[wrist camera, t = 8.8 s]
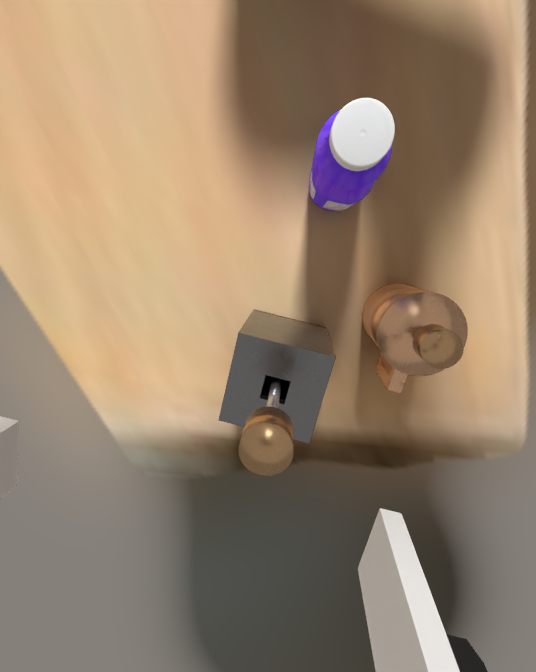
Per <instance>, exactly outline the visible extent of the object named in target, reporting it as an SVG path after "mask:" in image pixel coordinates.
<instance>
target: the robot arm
mask: <svg viewBox="0 0 536 672" xmlns="http://www.w3.org/2000/svg"><path fill="white" fill-rule="evenodd" d="M18 433H19V421H17V420H12V419H8V418H4V417H0V499H2V498H3V497H4V496H5V495H6V494H7V493H8V492H10V491H11V490H12V489H13V488H14V487H15V486H17V475H18V473H17V472H18ZM358 573H359V579H360V584H361V590H362V596H363V601H364V607H365V613H366V618H367V624H368V630H369V635H370V640H371V647H372V653H373V658H374V664H375V670H376V672H487V669H486V667H485V665H484V663H483V662H482V660H481V659H480V657H479V656H478V655H477V653H476V652H475V650H474V649H473V648H472V646H471V645H470V643H469V642H468V641H467V639H463V638H459V637H455V636H451V635H447V634H446V633H445V630H444V627H443V625H442V622H441V619H440V617H439V614H438V611H437V608H436V606H435V603H434V600H433V598H432V595H431V592H430V589H429V587H428V584H427V581H426V579H425V576H424V573H423V570H422V568H421V565H420V562H419V560H418V557H417V554H416V552H415V549H414V546H413V543H412V541H411V538H410V535H409V533H408V530H407V527H406V524H405V522H404V519H403V516H402V514H401V513H398V512H393V511H389V510H386V509H381V508H380V509H379V512H378V514H377V518H376V520H375V523H374V525H373V528H372V531H371V533H370V536H369V539H368V542H367V545H366V547H365V550H364V553H363V555H362V558H361V561H360V564H359V567H358Z"/></svg>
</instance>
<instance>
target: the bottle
mask: <svg viewBox="0 0 536 672" xmlns="http://www.w3.org/2000/svg"><path fill="white" fill-rule="evenodd" d="M394 134H395V125H394V120H393V117H392V114H391V112H390V111H389V109H388V108H387V107H386V106H385V105H384V104H383V103H381V102H380V101H378V100H376V99H373V98H360V99H356V100H353V101H351V102H349V103H348V104H347V105H345V106H344V107H343V108H342V109H341V110H339V111H337V112H336V113H334V114H333V115H332V116H331V117H330V118H329V119H328V120H327V122H326V123H325V124H324V126H323V127H322V129H321V131H320V134H319V136H318V139H317V143H316V150H315V154H314V159H313V165H312V169H311V174H310V181H309V192H310V196H311V198H312V200H313V201H314V203H315V204H317V205H318V206H320V207H322V208H324V209H327V210H331V211H342V210H345V209H347V208H349V207H350V206H352V205H354V204H355V203H357V202H358V201H360V200H361V199H363V198H364V197H365V196H366V195H367V194H368V193H369V192H370V190H371V188H372V187H373V185H374V183H375V181H376V180H377V178H378V177H379V176H380V175H381V173H382V172H383V171H384V169H385V167H386V165H387V163H388V161H389V159H390V155H391V151H392V142H393V139H394Z"/></svg>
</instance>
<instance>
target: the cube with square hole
mask: <svg viewBox="0 0 536 672" xmlns="http://www.w3.org/2000/svg"><path fill="white" fill-rule="evenodd" d="M335 358H336V357H335V354H334V351H333V348H332V345H331V342H330V339H329V337H328V334H327V331H326V328H325V327H321V326H317V325H313V324H309V323H305V322H301V321H297V320H294V319H290V318H286V317H282V316H278V315H274V314H270V313H266V312H262V311H258V310H253V312H252V313H251V315H250V316H249V318H248V319H247V321H246V322H245V324H244V325H243V327H242V328H241V330H240V331H239V333H238V337H237V342H236V346H235V350H234V355H233V359H232V364H231V368H230V372H229V377H228V381H227V386H226V390H225V394H224V399H223V403H222V408H221V412H220V416H219V420H220V421H223V422H227V423H231V424H235V425H239V426H243V427H244V426H245V423H246V420H247V418H248V416H249V415H250V414H251V413H252V412H253V411H254V410H256V409H258V408H261V407H266V406H267V401H268V396H269V390H270V389H269V388H267V387H265V386H263V383H264V379H265V375H268V376H272V377H275V378H279V379H283V380H287V381H290V383H289V386H288V389H287V390H280V398H279V407H278V409H281V410H282V411H284V412H285V413H286V414H287V415H288V416H289V417H290V419H291V420H292V423H293V427H294V440H297V441H301V442H305V443H308V444H309V443H310V439H311V436H312V433H313V430H314V426H315V423H316V420H317V417H318V413H319V410H320V407H321V403H322V400H323V397H324V394H325V390H326V387H327V384H328V381H329V377H330V374H331V371H332V368H333V364H334V361H335Z"/></svg>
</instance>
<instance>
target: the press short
mask: <svg viewBox="0 0 536 672" xmlns="http://www.w3.org/2000/svg"><path fill="white" fill-rule="evenodd" d="M362 321H363V325H364V328H365V330H366V332H367V334H368V335H369V336H370V337H371V339H372V340H373V341H374V342H375V344H376V345H377V346H378V347H379V350H380V352H381V355H380V358H379V361H378V364H377V367H376V370H375V371H376V372H377V374H378V375H379V377H380V379H381V380H382V382H383V383H384V385H385V387H386V388H387V390H390V391H394V392H398V393H401V392H402V389H403V386H404V384H405V381H406V378H407V375H413V376H426V375H431V374H434V373H437V372H440V371H442V370H443V369H445V368H449V367H451V366H453V365H454V364H456V363H457V362H458V361H459V360H460V358H461V356H462V354H463V348H464V346H465V343H466V339H467V322H466V319H465V316H464V314H463V312H462V310H461V309H460V308H459V306H458V305H457V304H456V303H455V302H454V301H452V300H451V299H449V298H447V297H445V296H443V295H441V294H437V293H434V292H429V291H423V290H420V289H417V288H415V287H412V286H409V285H406V284H401V283H394V284H388V285H385V286H383V287H381V288H379V289H377V290H376V291H375V292H374V293H372V295H371V296H370V297H369V298H368V300H367V301H366V303H365V305H364V308H363V313H362Z"/></svg>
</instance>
